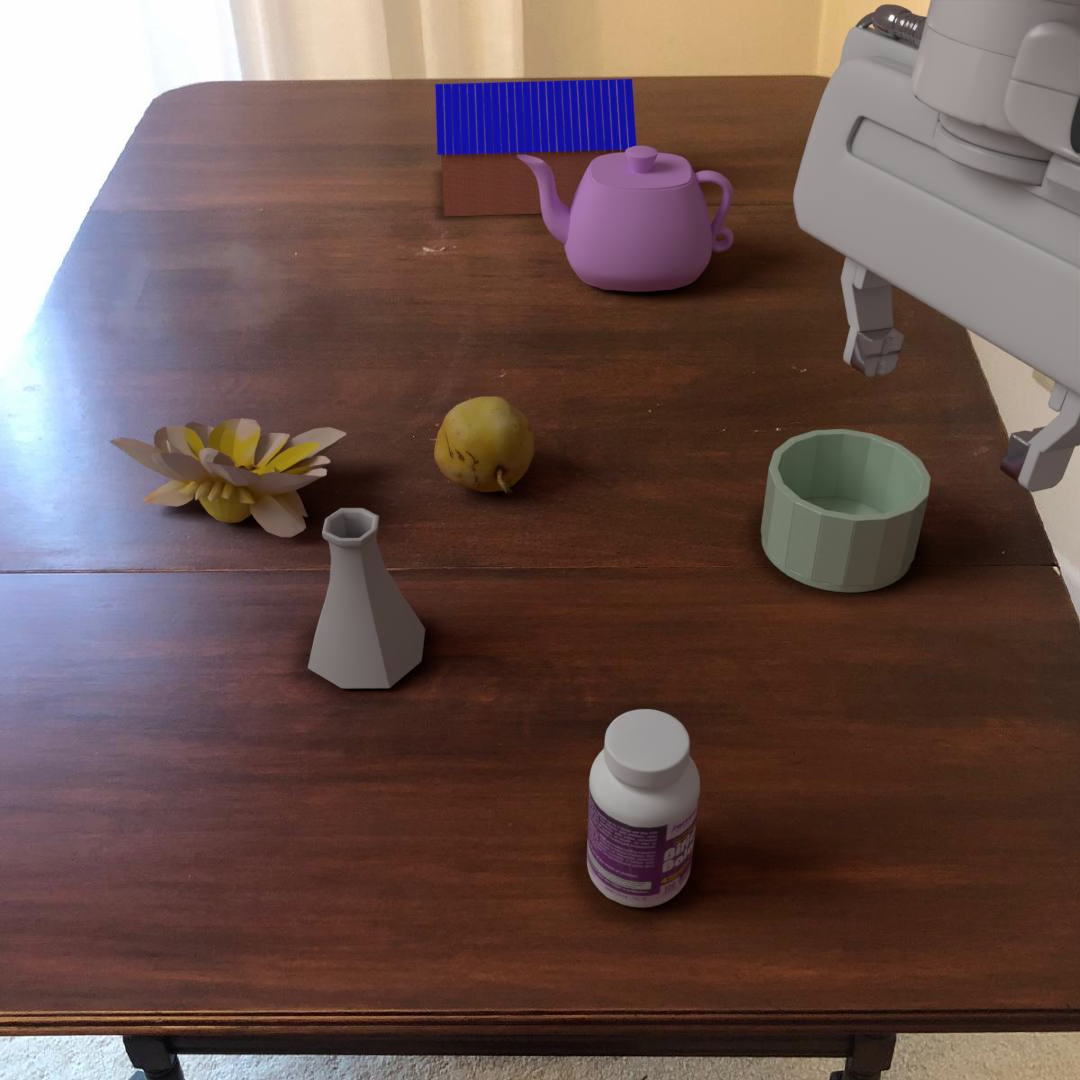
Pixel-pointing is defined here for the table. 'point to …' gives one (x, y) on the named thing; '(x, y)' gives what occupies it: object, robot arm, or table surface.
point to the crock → (843, 509)
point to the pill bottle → (642, 809)
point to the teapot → (636, 220)
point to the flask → (363, 611)
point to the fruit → (484, 444)
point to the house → (525, 139)
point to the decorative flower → (236, 470)
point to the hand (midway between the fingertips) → (942, 421)
